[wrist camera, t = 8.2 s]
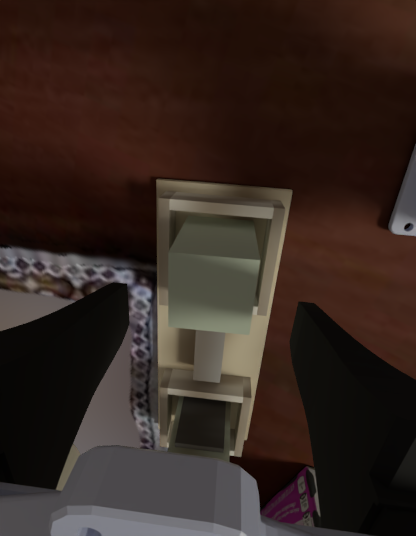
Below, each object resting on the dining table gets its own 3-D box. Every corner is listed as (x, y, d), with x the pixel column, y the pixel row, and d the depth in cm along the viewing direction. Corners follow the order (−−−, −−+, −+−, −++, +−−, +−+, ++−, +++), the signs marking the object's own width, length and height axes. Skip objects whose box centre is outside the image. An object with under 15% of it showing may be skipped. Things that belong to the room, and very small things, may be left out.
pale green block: (253, 220, 18) (260, 260, 13) (245, 284, 20) (248, 341, 15) (188, 215, 19) (168, 252, 13) (186, 278, 20) (168, 333, 15)
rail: (291, 189, 18) (317, 220, 12) (246, 434, 27) (249, 518, 21) (158, 178, 18) (121, 203, 12) (159, 423, 28) (139, 503, 22)
